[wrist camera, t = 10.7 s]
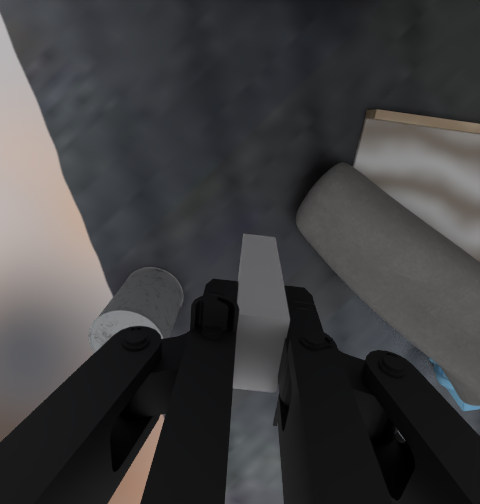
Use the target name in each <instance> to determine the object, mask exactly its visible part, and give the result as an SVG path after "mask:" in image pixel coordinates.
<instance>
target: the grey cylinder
mask: <svg viewBox="0 0 480 504" xmlns="http://www.w3.org/2000/svg"><path fill="white" fill-rule="evenodd" d="M182 302H183V290H182V287H181V285H180V283H179V281H178V280H177V279H176V278H175V277H174V276H173V275H172V274H171V273H169V272H167V271H165V270H163V269H160V268H156V267H144V268H141V269H138V270H136V271H134V272H133V273H131V275H130V276H129V277H128V278H127V280H126V281H125V283H124V284H123V285H122V287H121V288H120V289H119V291H118V292H117V293H116V294H115V296H114V297H113V298H112V300H111V301H110V302H109V304H108V305H107V306H106V308H105V309H104V310H103V311H102V313H101V314H100V315H99V317H98V318H97V319H96V320H95V321H94V322H93V323H92V325H91V328H90V330H89V344H90V346H91V349H92V351H93V352H94V353H95V352H96V351H97V350H98V349H99V348H100V347H102V346H103V345H104V344H105V343H106V342H107V341H108V340H109V339H110V338H111V337H112V336H113V335H114V334H116V333H117V332H119V331H120V330H122V329H125V328H128V327H132V326H146V327H150V328H153V329H155V330H157V332H158V333H159V334H160V335H161V339H163V338H169V336H170V333H171V331H172V328H173V325H174V323H175V320H176V317H177V315H178V312H179V309H180V307H181V306H182Z"/></svg>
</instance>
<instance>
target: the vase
mask: <svg viewBox="0 0 480 504" xmlns="http://www.w3.org/2000/svg"><path fill="white" fill-rule="evenodd" d="M296 225H297V227H298V229H299V231H300V232H301V233H302V235H303V236H304V237H305V238H306V239H307V241H308V242H309V243H310V244H311V245H312V247H313V248H314V249H315V250H316V251H317V252H318V254H319V255H320V256H321V257H322V258H323V259H324V260H325V262H326V263H327V264H328V265H329V266H330V267H331V268H332V269H333V270H334V272H335V273H336V274H337V275H338V276H339V277H340V278H341V279H342V280H343V281H344V282H345V283H346V284H347V285H348V286H349V287H350V288H351V289H352V290H353V291H354V292H355V293H356V294H357V295H358V296H359V297H360V298H361V299H362V300H363V301H364V302H365V303H366V304H367V305H368V306H369V307H370V308H371V309H372V310H374V311H375V312H376V313H377V314H378V315H379V316H380V317H381V318H383V319H384V320H385V321H386V322H387V323H388V324H389V325H390V326H392V327H393V328H394V329H395V330H396V331H398V332H399V333H400V334H401V335H402V336H403V337H405V338H406V339H407V340H408V341H409V342H411V343H412V344H413V345H414V346H416V347H417V348H418V349H419V350H421V351H422V352H423V353H424V354H426V355H427V356H428V357H429V358H431V359H432V360H433V361H435V362H436V363H437V364H438V365H439V366H440V367H441V369H442V370H443V372H444V373H445V375H446V376H447V378H448V379H449V381H450V383H451V384H452V386H453V388H454V389H455V391H456V393H457V394H458V396H459V398H460V399H461V400H462V401H463V402H464V403H466V404H469V405H473V406H480V262H479V261H478V260H476V259H475V258H474V257H472V256H471V255H470V254H468V253H467V252H466V251H464V250H463V249H462V248H460V247H459V246H457V245H456V244H455V243H453V242H452V241H451V240H449V239H448V238H446V237H445V236H444V235H442V234H441V233H439V232H438V231H437V230H435V229H434V228H433V227H431V226H430V225H428V224H427V223H426V222H424V221H423V220H422V219H420V218H419V217H418V216H416V215H415V214H414V213H412V212H411V211H409V210H408V209H407V208H405V207H404V206H403V205H401V204H400V203H399V202H398V201H396V200H395V199H394V198H392V197H391V196H390V195H388V194H387V193H386V192H385V191H383V190H382V189H381V188H379V187H378V186H377V185H376V184H374V183H373V182H372V181H371V180H369V179H368V178H367V177H366V176H365V175H363V174H362V173H361V172H359V171H358V170H357V169H355V168H354V167H352V166H351V165H349V164H347V163H344V162H340V163H338V164H336V165H335V166H333V167H332V168H331V169H329V170H328V171H327V172H326V173H325V174H324V175H323V176H322V177H321V178H320V179H319V180H318V181H317V182H316V183H315V184H314V185H313V187H312V188H311V189H310V191H309V192H308V194H307V195H306V197H305V198H304V200H303V202H302V203H301V205H300V207H299V209H298V211H297V214H296Z"/></svg>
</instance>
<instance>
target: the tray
mask: <svg viewBox="0 0 480 504" xmlns="http://www.w3.org/2000/svg"><path fill="white" fill-rule="evenodd" d="M352 167H354V168H355V169H357V170H358V171H359V172H361V173H362V174H363V175H365V176H366V177H367V178H368V179H369V180H371V181H372V182H373V183H374V184H376V185H377V186H378V187H379V188H381V189H382V190H383V191H385V192H386V193H387V194H388V195H390V196H391V197H392V198H394V199H395V200H396V201H398V202H399V203H400V204H401V205H403V206H404V207H405V208H407V209H408V210H409V211H411V212H412V213H414V214H415V215H416V216H418V217H419V218H420V219H422V220H423V221H424V222H426V223H427V224H428V225H430V226H431V227H433V228H434V229H435V230H437V231H438V232H439V233H441V234H442V235H444V236H445V237H446V238H448V239H449V240H451V241H452V242H453V243H455V244H456V245H457V246H459V247H460V248H462V249H463V250H464V251H466V252H467V253H468V254H470V255H471V256H472V257H474V258H475V259H476V260H478V261H479V262H480V124H477V123H470V122H463V121H456V120H449V119H442V118H435V117H427V116H420V115H413V114H406V113H399V112H392V111H385V110H378V109H374V110H367V112H366V116H365V120H364V124H363V127H362V131H361V135H360V139H359V143H358V147H357V151H356V155H355V159H354V163H353V166H352Z"/></svg>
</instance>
